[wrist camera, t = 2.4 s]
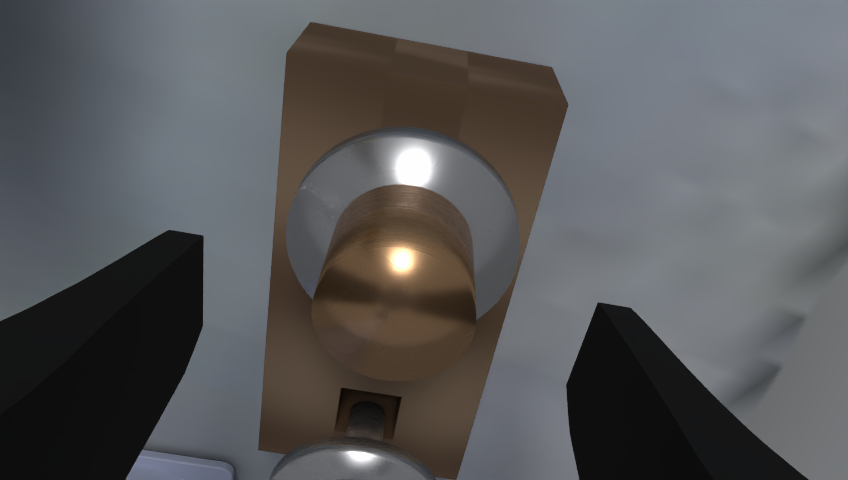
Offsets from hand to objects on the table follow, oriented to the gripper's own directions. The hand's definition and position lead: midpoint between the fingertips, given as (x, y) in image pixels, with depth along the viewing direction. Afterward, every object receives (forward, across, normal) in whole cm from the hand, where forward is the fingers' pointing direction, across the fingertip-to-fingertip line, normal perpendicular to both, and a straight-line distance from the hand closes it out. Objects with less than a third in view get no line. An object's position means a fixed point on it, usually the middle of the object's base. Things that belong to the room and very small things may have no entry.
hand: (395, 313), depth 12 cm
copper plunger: (+6, 0, 0) cm, 7 cm away
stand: (+10, 0, +5) cm, 11 cm away
